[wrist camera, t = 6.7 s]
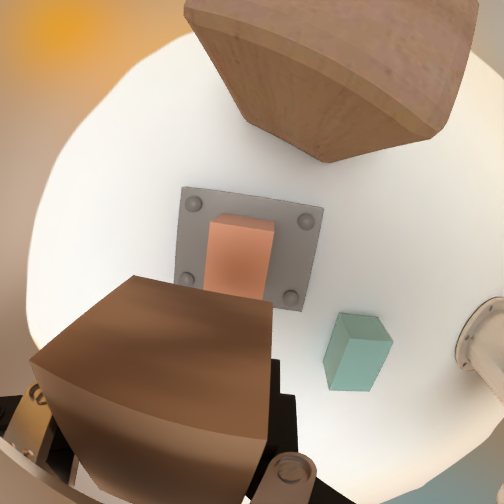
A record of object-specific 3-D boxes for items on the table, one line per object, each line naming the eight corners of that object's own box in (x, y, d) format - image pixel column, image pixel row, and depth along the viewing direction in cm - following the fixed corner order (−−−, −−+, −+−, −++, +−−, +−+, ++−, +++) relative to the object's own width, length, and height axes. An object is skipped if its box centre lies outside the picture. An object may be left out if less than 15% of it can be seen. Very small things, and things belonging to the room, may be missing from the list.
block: (286, 45, 22) (293, -101, 3) (370, 91, 23) (487, -2, 3) (239, 119, 25) (163, 6, 6) (328, 167, 25) (449, 149, 6)
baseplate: (322, 207, 26) (336, 216, 20) (300, 307, 29) (306, 339, 23) (185, 186, 27) (159, 189, 21) (176, 285, 30) (154, 311, 24)
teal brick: (377, 316, 29) (393, 341, 24) (358, 363, 31) (369, 391, 26) (339, 312, 29) (349, 338, 24) (322, 360, 31) (329, 390, 26)
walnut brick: (272, 301, 9) (267, 440, 4) (244, 428, 11) (229, 528, 6) (133, 275, 9) (29, 360, 4) (144, 404, 11) (99, 489, 6)
